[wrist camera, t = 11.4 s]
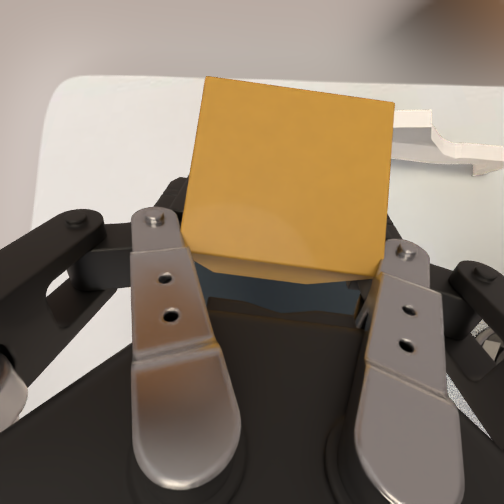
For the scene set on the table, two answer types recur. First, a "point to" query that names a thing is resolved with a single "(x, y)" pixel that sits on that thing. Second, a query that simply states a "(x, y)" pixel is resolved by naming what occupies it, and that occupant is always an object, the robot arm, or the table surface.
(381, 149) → the block
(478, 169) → the llama figurine
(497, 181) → the table surface
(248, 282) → the mat
